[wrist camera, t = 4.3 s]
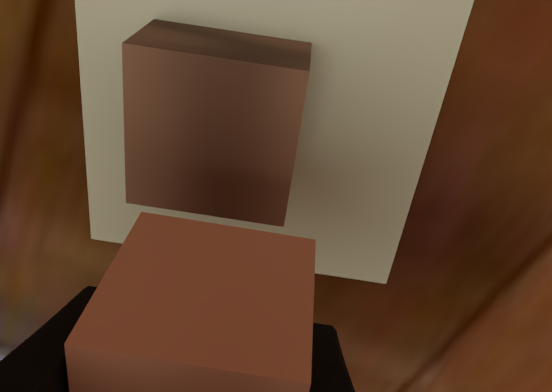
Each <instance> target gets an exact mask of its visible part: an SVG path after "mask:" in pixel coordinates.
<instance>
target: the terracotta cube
mask: <svg viewBox="0 0 552 392" xmlns="http://www.w3.org/2000/svg"><path fill="white" fill-rule="evenodd" d="M315 247H316V240H315V239H309V238H303V237H297V236H290V235H284V234H278V233H272V232H265V231H259V230H253V229H247V228H241V227H234V226H228V225H222V224H216V223H209V222H203V221H197V220H191V219H184V218H178V217H172V216H166V215H160V214H153V213H147V212H141V213H140V215H139V217H138V218H137V220H136V222H135V223H134V225H133V227H132V229H131V230H130V232H129V234H128V235H127V237H126V239H125V241H124V242H123V244H122V246H121V247H120V249H119V251H118V253H117V254H116V256H115V258H114V259H113V261H112V263H111V265H110V266H109V268H108V270H107V271H106V273H105V275H104V277H103V278H102V280H101V282H100V283H99V285H98V287H97V289H96V290H95V292H94V294H93V295H92V297H91V299H90V301H89V302H88V304H87V306H86V307H85V309H84V311H83V313H82V314H81V316H80V318H79V319H78V321H77V323H76V325H75V326H74V328H73V330H72V331H71V333H70V335H69V337H68V338H67V340H66V342H65V343H64V347H65V357H66V366H67V375H68V384H69V392H309V390H310V386H311V370H312V339H313V308H314V277H315Z"/></svg>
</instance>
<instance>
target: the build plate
mask: <svg viewBox="0 0 552 392" xmlns="http://www.w3.org/2000/svg"><path fill="white" fill-rule="evenodd" d="M473 2H474V0H75V10H76V25H77V39H78V54H79V68H80V83H81V97H82V112H83V127H84V141H85V156H86V170H87V185H88V199H89V214H90V228H91V239H95V240H102V241H109V242H115V243H122V244H123V242H124V241H125V239H126V237H127V235H128V234H129V232H130V230H131V229H132V227H133V225H134V223H135V222H136V220H137V218H138V217H139V215H140V213H141V212H147V213H153V214H160V215H166V216H172V217H178V218H184V219H191V220H197V221H203V222H209V223H216V224H222V225H228V226H234V227H241V228H247V229H253V230H259V231H265V232H272V233H278V234H284V235H290V236H297V237H303V238H309V239H315V240H316V247H315V273H318V274H324V275H331V276H337V277H344V278H350V279H357V280H364V281H370V282H377V283H383V284H386V283H387V279H388V276H389V273H390V270H391V267H392V263H393V260H394V257H395V254H396V250H397V247H398V244H399V241H400V238H401V234H402V231H403V228H404V225H405V221H406V218H407V215H408V212H409V209H410V205H411V202H412V199H413V196H414V192H415V189H416V186H417V183H418V179H419V176H420V173H421V170H422V167H423V163H424V160H425V157H426V154H427V150H428V147H429V144H430V141H431V138H432V134H433V131H434V128H435V125H436V121H437V118H438V115H439V112H440V109H441V105H442V102H443V99H444V96H445V92H446V89H447V86H448V83H449V80H450V76H451V73H452V70H453V67H454V63H455V60H456V57H457V54H458V51H459V47H460V44H461V41H462V38H463V34H464V31H465V28H466V25H467V22H468V18H469V15H470V12H471V9H472V5H473ZM153 19H158V20H164V21H171V22H177V23H184V24H191V25H197V26H204V27H210V28H217V29H224V30H230V31H237V32H243V33H250V34H257V35H263V36H270V37H277V38H283V39H290V40H296V41H303V42H310V43H312V47H311V60H310V72H309V78H308V84H307V90H306V96H305V102H304V108H303V114H302V120H301V126H300V132H299V138H298V144H297V150H296V156H295V162H294V168H293V174H292V181H291V187H290V193H289V199H288V205H287V211H286V217H285V223H284V227H280V226H273V225H267V224H260V223H254V222H247V221H241V220H234V219H228V218H221V217H214V216H208V215H201V214H195V213H188V212H182V211H175V210H169V209H162V208H156V207H149V206H142V205H136V204H129V203H126V190H125V150H124V110H123V70H122V42H124V41H125V40H126V39H128V38H129V37H130V36H132V35H133V34H135V33H136V32H137V31H139V30H140V29H141V28H143V27H144V26H145V25H147V24H148V23H149V22H151V21H152V20H153Z"/></svg>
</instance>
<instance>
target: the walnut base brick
mask: <svg viewBox="0 0 552 392" xmlns="http://www.w3.org/2000/svg"><path fill="white" fill-rule="evenodd" d="M311 47H312V43H310V42H303V41H296V40H290V39H283V38H277V37H270V36H263V35H257V34H250V33H243V32H237V31H230V30H224V29H217V28H210V27H204V26H197V25H191V24H184V23H177V22H171V21H164V20H158V19H153V20H152V21H151V22H149V23H148V24H147V25H145V26H144V27H143V28H141V29H140V30H139V31H137V32H136V33H135V34H133V35H132V36H130V37H129V38H128V39H126V40H125V41H124V42H122V70H123V110H124V150H125V190H126V203H129V204H136V205H142V206H149V207H156V208H162V209H169V210H175V211H182V212H188V213H195V214H201V215H208V216H214V217H221V218H228V219H234V220H241V221H247V222H254V223H260V224H267V225H273V226H280V227H284V223H285V217H286V211H287V205H288V199H289V193H290V187H291V181H292V174H293V168H294V162H295V156H296V150H297V144H298V138H299V132H300V126H301V120H302V114H303V108H304V102H305V96H306V90H307V84H308V78H309V72H310V60H311Z"/></svg>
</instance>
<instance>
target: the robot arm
mask: <svg viewBox="0 0 552 392" xmlns="http://www.w3.org/2000/svg"><path fill="white" fill-rule="evenodd" d="M96 289H97V287H92V286H88V287H86V288H85V289H83V290H82V291H81V292H80V293H79V294H78V295H77V296H75V297H74V298H73V299H72V300H71V301H70V302H69V303H68V304H67V305H66V306H64V307H63V308H62V309H61V310H60V311H59V312H58V313H57V314H55V315H54V316H53V317H52V318H51V319H50V320H49V321H48V322H46V323H45V324H44V325H43V326H42V327H41V328H39V329H38V330H37V331H36V332H35V333H34V334H32V335H31V336H30V337H29V338H28V339H26V340H25V341H24V342H23V343H22V344H20V345H19V346H18V347H17V348H16V349H14V350H13V351H12V352H11V353H10V354H8V355H7V356H6V357H5V358H3V359H2V360H1V361H0V392H69V384H68V375H67V366H66V357H65V347H64V343H65V342H66V340H67V338H68V337H69V335H70V333H71V331H72V330H73V328H74V326H75V325H76V323H77V321H78V319H79V318H80V316H81V314H82V313H83V311H84V309H85V307H86V306H87V304H88V302H89V301H90V299H91V297H92V295H93V294H94V292H95V290H96ZM309 392H355V390H354V387H353V385H352V382H351V379H350V376H349V373H348V370H347V367H346V364H345V361H344V358H343V355H342V351H341V348H340V344H339V340H338V336H337V331H336V330H335V328H334V327H333V326H330V325H324V324H318V323H313V339H312V370H311V386H310V390H309Z"/></svg>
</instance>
